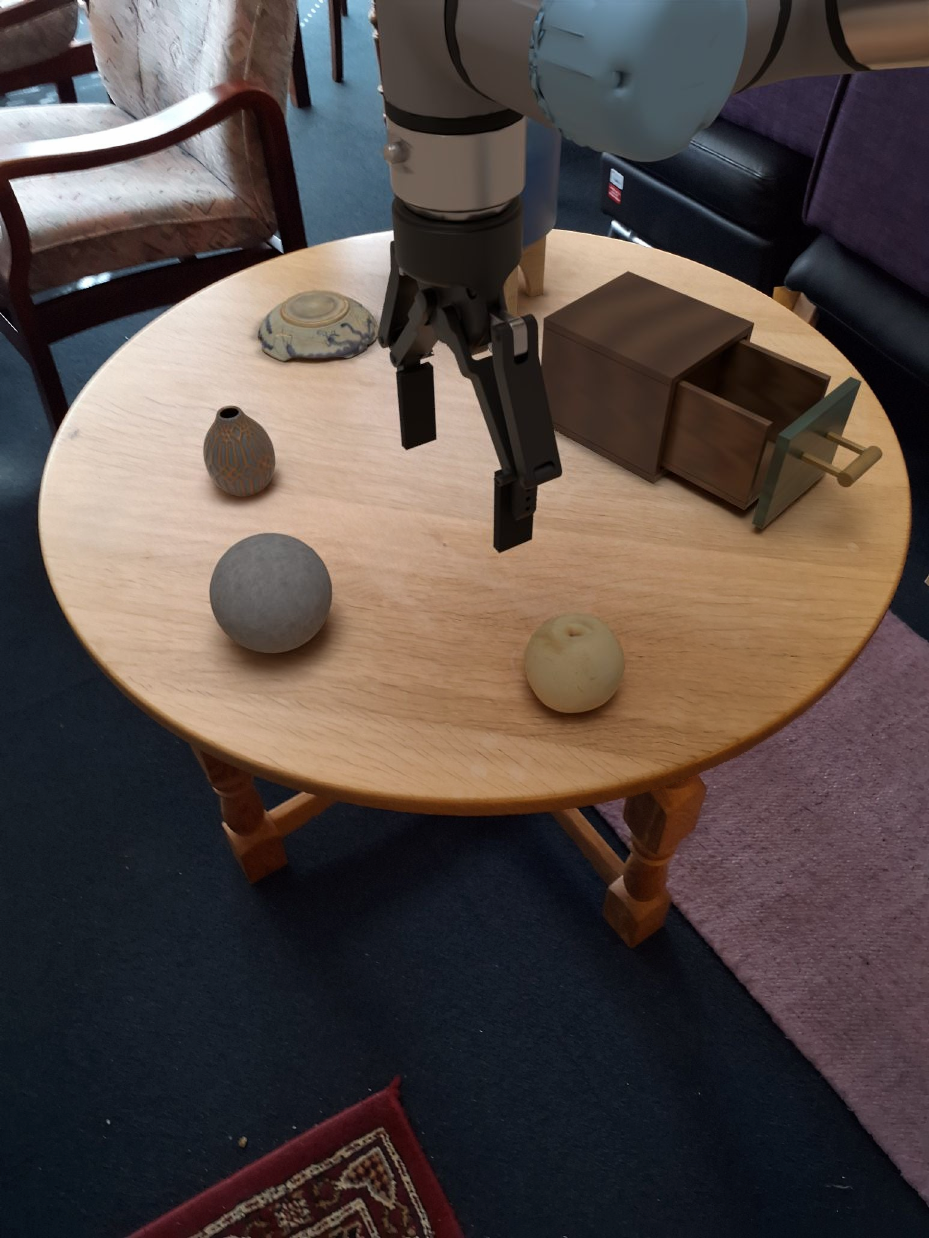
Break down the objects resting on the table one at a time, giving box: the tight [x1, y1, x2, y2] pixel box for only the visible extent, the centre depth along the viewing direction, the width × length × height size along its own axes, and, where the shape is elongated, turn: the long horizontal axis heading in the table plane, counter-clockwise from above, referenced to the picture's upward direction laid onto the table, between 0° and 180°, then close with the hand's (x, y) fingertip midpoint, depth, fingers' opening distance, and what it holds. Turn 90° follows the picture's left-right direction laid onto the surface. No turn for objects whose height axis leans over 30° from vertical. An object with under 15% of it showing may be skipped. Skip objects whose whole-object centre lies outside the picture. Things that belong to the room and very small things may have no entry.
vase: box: [202, 405, 276, 497], centre depth 89 cm, size 7×7×9 cm
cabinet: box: [540, 270, 755, 484], centre depth 94 cm, size 16×14×12 cm
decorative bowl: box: [257, 289, 379, 363], centre depth 111 cm, size 15×4×15 cm
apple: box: [523, 612, 626, 714], centre depth 71 cm, size 8×8×8 cm
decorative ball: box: [208, 532, 333, 654], centre depth 74 cm, size 10×10×10 cm
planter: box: [393, 117, 563, 318], centre depth 106 cm, size 19×19×26 cm
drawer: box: [661, 338, 883, 530], centre depth 86 cm, size 20×13×10 cm, turn 45°
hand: (463, 490), depth 66 cm, fingers open, 13 cm apart
